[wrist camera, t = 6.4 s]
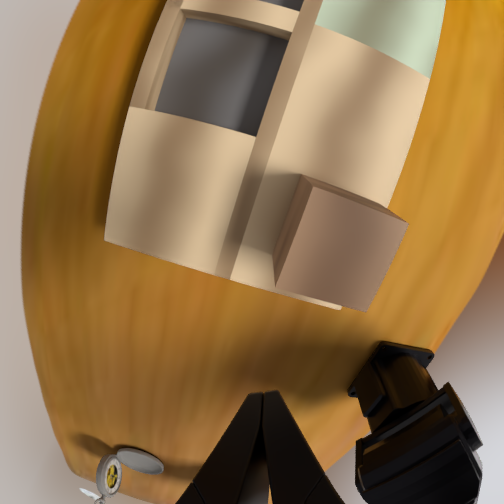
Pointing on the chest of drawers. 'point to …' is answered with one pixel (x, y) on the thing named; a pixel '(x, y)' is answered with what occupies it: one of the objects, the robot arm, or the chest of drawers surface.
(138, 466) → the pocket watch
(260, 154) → the board
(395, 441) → the robot arm
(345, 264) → the walnut block
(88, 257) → the chest of drawers surface
